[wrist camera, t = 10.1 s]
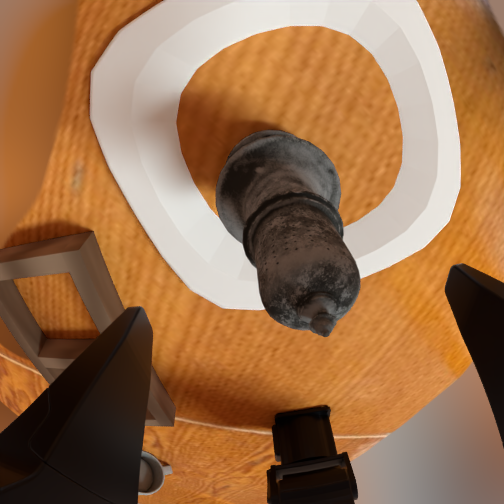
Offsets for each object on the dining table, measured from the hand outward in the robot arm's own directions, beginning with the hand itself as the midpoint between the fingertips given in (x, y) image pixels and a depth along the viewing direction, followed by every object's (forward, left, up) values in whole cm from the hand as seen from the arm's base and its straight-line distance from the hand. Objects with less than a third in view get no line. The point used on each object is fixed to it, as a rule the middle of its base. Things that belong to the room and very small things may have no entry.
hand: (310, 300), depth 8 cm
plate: (-2, -2, -13) cm, 13 cm away
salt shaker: (0, 0, -11) cm, 11 cm away
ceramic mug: (+23, +42, -12) cm, 50 cm away
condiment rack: (+18, +13, -12) cm, 25 cm away
